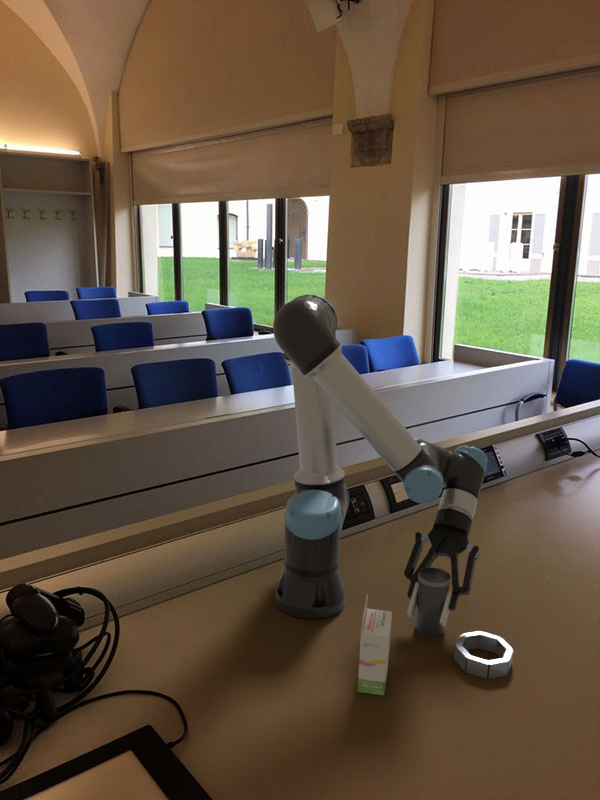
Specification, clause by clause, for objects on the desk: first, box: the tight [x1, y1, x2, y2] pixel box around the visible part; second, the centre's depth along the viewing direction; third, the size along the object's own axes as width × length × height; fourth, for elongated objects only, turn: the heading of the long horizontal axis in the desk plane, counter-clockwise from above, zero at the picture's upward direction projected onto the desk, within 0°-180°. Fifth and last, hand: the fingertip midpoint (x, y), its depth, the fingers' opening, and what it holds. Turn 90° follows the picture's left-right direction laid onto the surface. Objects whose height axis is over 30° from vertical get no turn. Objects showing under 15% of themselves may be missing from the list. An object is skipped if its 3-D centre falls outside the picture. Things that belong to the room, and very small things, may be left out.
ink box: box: [357, 594, 393, 696], centre depth 120 cm, size 9×5×15 cm, turn 168°
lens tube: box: [414, 566, 452, 638], centre depth 136 cm, size 6×6×12 cm
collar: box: [453, 630, 514, 680], centre depth 127 cm, size 10×10×3 cm
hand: (426, 619), depth 134 cm, fingers closed on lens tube, 6 cm apart
